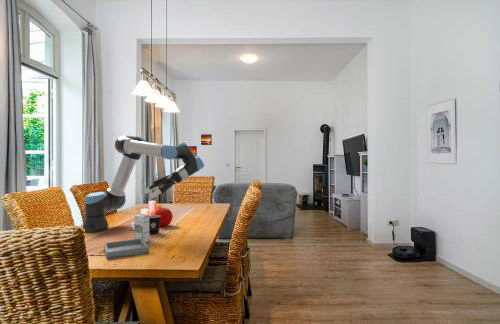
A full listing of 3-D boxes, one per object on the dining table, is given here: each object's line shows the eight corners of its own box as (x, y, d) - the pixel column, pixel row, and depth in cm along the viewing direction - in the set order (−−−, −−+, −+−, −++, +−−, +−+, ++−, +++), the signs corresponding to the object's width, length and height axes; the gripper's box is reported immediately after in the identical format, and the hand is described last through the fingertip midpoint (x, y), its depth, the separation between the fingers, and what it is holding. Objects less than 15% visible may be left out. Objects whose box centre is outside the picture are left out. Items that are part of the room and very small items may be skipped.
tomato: (156, 224, 209) (156, 206, 208) (173, 224, 210) (173, 206, 210) (152, 228, 196) (152, 209, 196) (170, 228, 198) (170, 208, 197)
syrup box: (149, 240, 168) (149, 214, 168) (142, 243, 162) (142, 216, 162) (141, 239, 170) (141, 213, 170) (134, 242, 164) (134, 215, 164)
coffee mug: (162, 231, 188) (162, 215, 188) (157, 234, 180) (157, 218, 179) (144, 231, 189) (144, 215, 189) (138, 234, 181) (138, 217, 181)
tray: (103, 248, 151) (103, 242, 151) (141, 243, 160) (141, 238, 160) (106, 259, 136) (106, 252, 136) (148, 252, 145) (148, 246, 145)
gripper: (179, 174, 167) (145, 195, 162) (185, 184, 190) (156, 203, 186) (172, 163, 168) (138, 184, 164) (179, 175, 192) (149, 193, 187)
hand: (147, 194), depth 175 cm, fingers open, 13 cm apart
